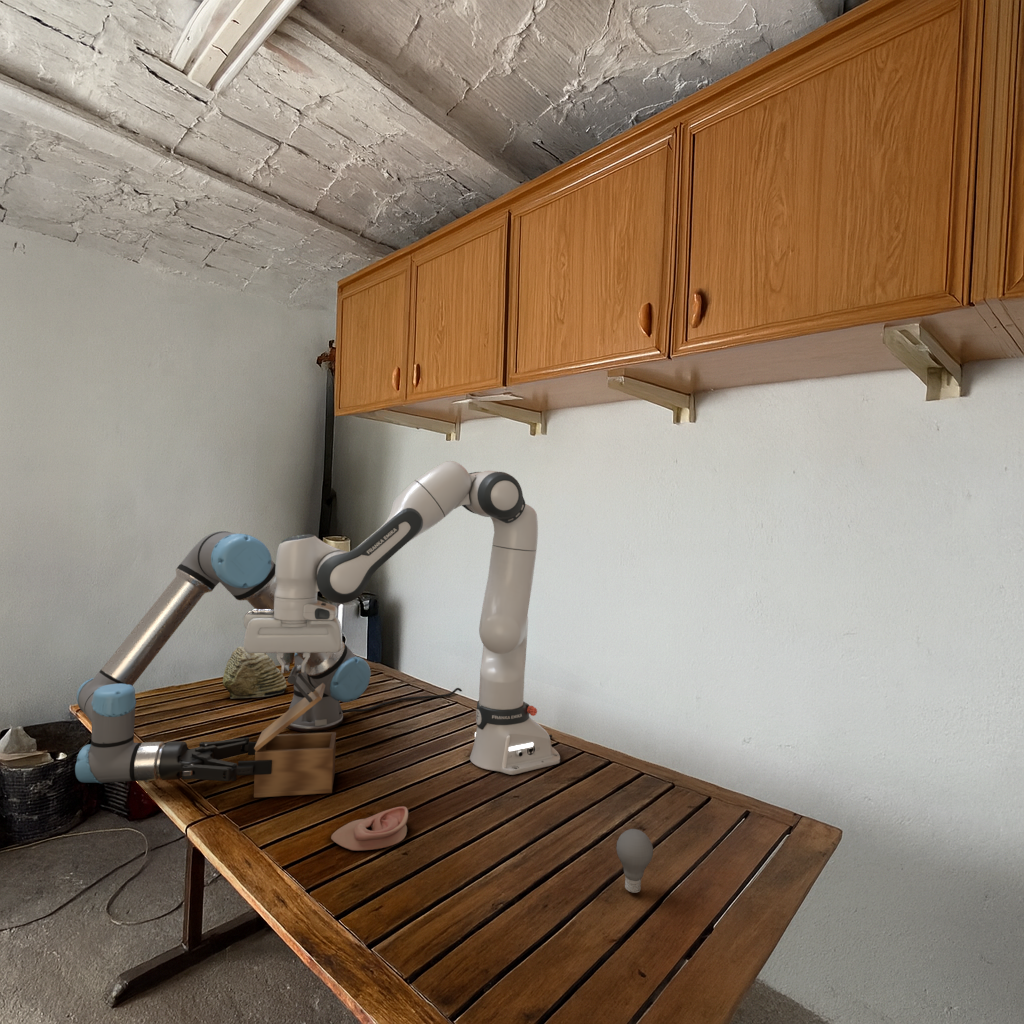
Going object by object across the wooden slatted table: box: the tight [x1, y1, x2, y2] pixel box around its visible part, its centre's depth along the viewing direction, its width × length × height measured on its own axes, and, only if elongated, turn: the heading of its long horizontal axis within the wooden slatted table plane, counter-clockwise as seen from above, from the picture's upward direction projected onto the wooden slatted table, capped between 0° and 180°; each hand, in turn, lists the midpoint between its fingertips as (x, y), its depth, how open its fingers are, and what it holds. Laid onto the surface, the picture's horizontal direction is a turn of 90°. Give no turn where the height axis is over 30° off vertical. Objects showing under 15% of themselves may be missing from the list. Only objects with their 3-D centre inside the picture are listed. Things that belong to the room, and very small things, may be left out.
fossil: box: [222, 646, 288, 699], centre depth 198 cm, size 9×18×15 cm, turn 132°
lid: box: [254, 665, 325, 751], centre depth 137 cm, size 17×10×8 cm
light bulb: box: [615, 828, 654, 894], centre depth 106 cm, size 6×6×10 cm
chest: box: [253, 731, 337, 799], centre depth 138 cm, size 16×10×10 cm, turn 102°
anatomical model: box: [330, 805, 409, 852], centre depth 119 cm, size 13×4×12 cm
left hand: (275, 756), depth 137 cm, fingers closed on chest, 10 cm apart
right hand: (293, 672), depth 138 cm, fingers closed
